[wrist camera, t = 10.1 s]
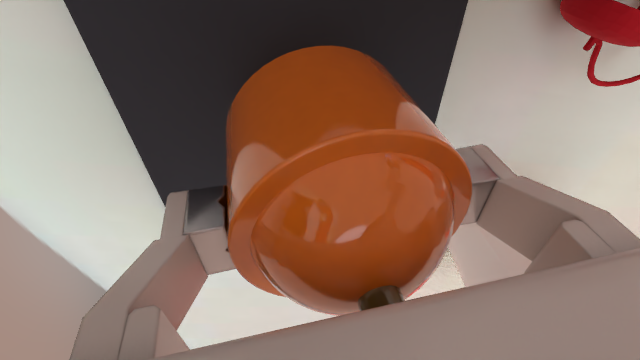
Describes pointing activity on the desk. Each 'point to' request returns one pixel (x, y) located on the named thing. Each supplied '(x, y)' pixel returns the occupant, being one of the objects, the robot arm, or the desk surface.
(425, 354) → the robot arm
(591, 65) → the alarm clock
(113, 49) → the desk mat
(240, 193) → the orange canister
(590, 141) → the desk surface
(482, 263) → the foam cup
